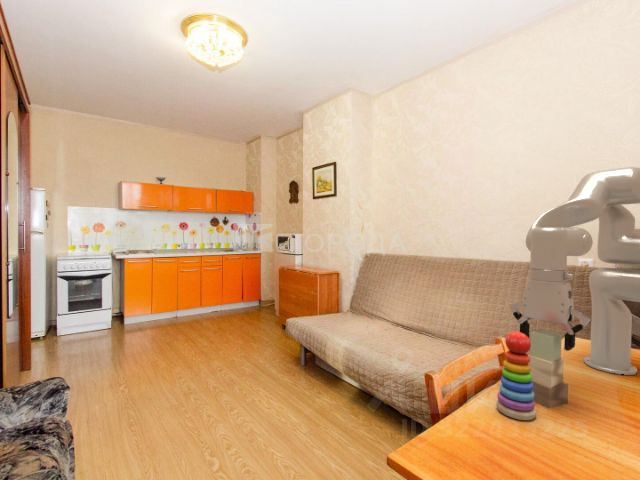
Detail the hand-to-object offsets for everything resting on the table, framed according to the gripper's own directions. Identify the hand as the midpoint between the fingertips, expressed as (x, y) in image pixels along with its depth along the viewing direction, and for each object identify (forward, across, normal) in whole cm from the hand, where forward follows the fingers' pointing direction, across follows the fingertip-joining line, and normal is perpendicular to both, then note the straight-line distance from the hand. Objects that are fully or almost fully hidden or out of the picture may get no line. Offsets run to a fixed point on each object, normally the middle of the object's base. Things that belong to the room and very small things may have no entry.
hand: (545, 343), depth 82 cm
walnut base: (+14, 0, 0) cm, 14 cm away
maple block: (+9, 0, 0) cm, 9 cm away
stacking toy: (+14, +1, +13) cm, 19 cm away
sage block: (+3, 0, 0) cm, 3 cm away
